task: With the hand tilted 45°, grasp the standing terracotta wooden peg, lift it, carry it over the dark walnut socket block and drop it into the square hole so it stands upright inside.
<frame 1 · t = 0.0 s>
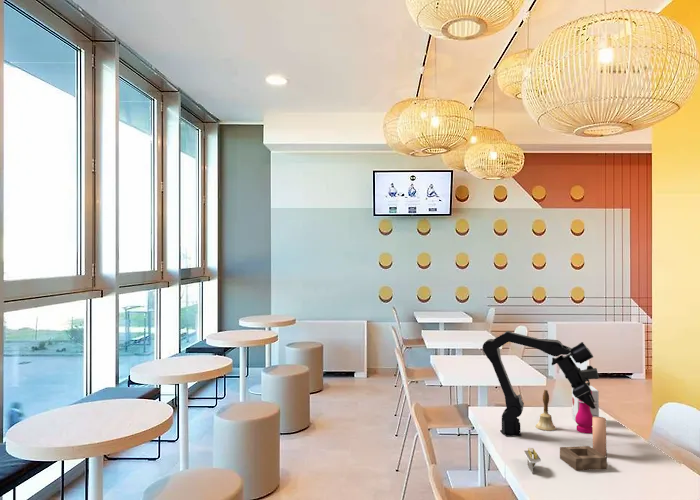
hand: (594, 405, 201), 15 cm above the table, tool tilted 35°, fingers open, 9 cm apart
hand bell: (545, 428, 221), on the table
socket: (582, 463, 182), on the table
supplement box: (585, 422, 229), on the table
platform: (532, 471, 177), on the table
peg: (599, 454, 191), on the table
pepper mill: (584, 431, 216), on the table
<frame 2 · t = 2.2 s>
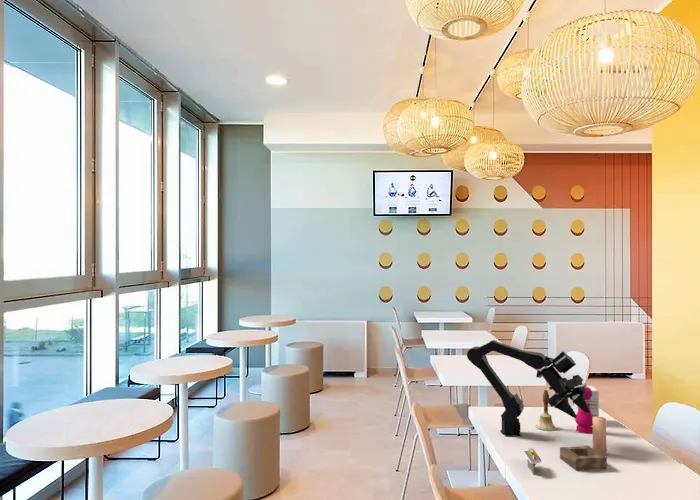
hand: (582, 415, 196), 13 cm above the table, tool tilted 45°, fingers open, 9 cm apart
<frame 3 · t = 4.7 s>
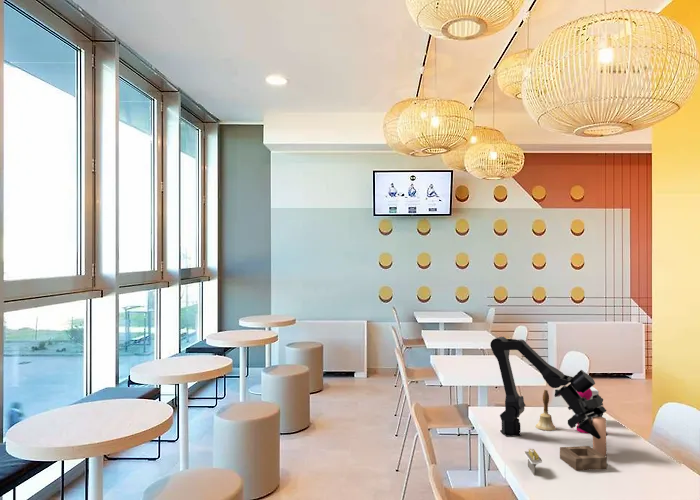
hand: (603, 437, 190), 7 cm above the table, tool tilted 45°, fingers closed on peg, 4 cm apart
peg: (599, 454, 191), on the table, touching gripper
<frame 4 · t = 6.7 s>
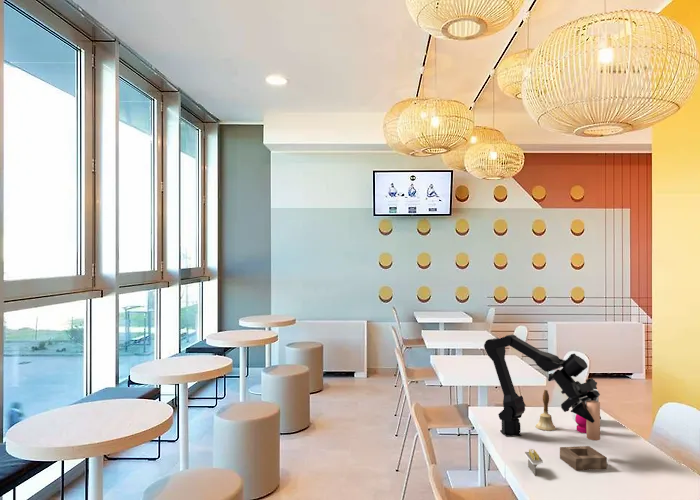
hand: (596, 420, 187), 13 cm above the table, tool tilted 45°, fingers closed on peg, 4 cm apart
peg: (593, 438, 188), point 7 cm above the table, touching gripper
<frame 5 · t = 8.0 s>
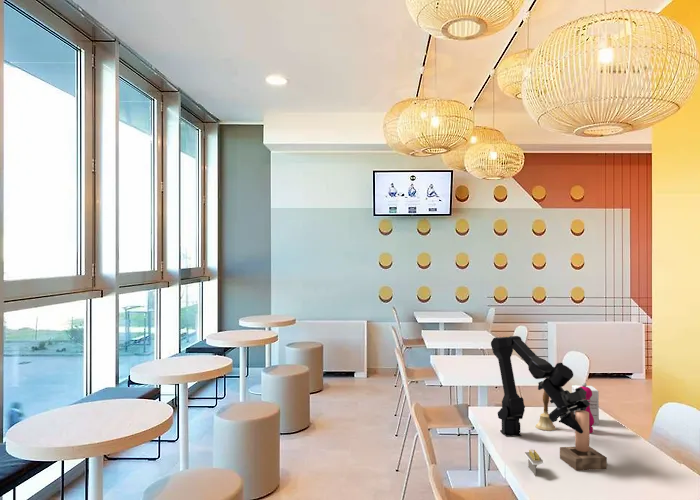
hand: (585, 431, 181), 11 cm above the table, tool tilted 45°, fingers closed on peg, 4 cm apart
peg: (582, 449, 182), point 5 cm above the table, touching gripper
when the fingers open (9 cm above the table, at t = 8.9 s): peg drops 2 cm, resting in socket.
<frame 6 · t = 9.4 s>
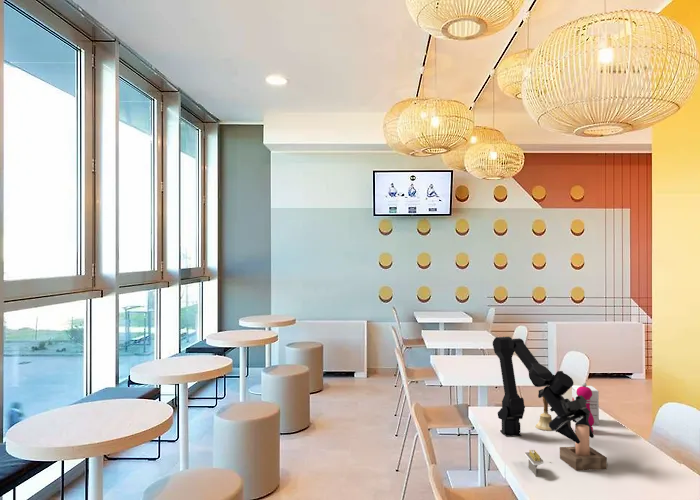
hand: (586, 440, 181), 9 cm above the table, tool tilted 45°, fingers open, 9 cm apart
peg: (582, 463, 182), resting in socket
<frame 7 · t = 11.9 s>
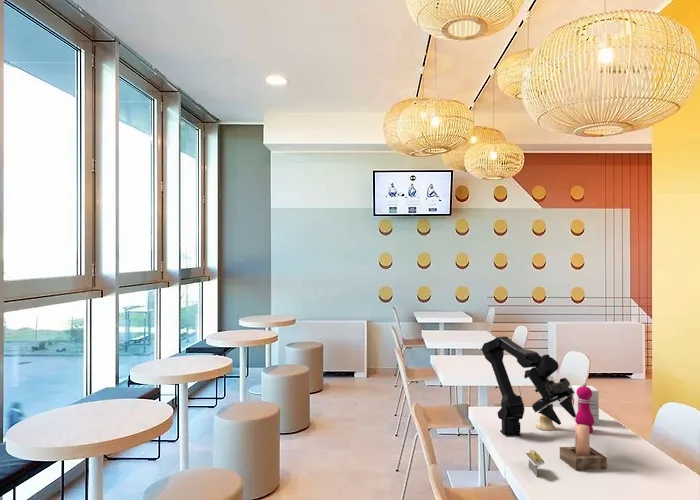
hand: (567, 420, 189), 13 cm above the table, tool tilted 40°, fingers open, 9 cm apart
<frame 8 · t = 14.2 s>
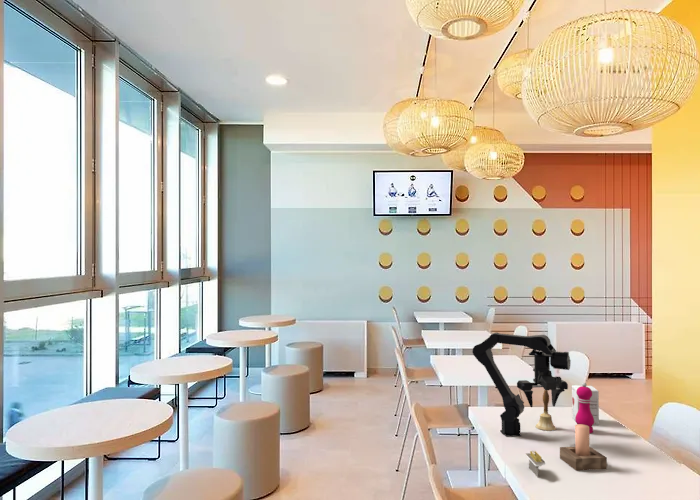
hand: (542, 406, 207), 13 cm above the table, tool pointing down, fingers open, 9 cm apart
at the end: peg 0.0 cm off-centre on the socket, point 0.0 cm above the socket's base; peg tilted 0°; the gripper is holding nothing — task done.
